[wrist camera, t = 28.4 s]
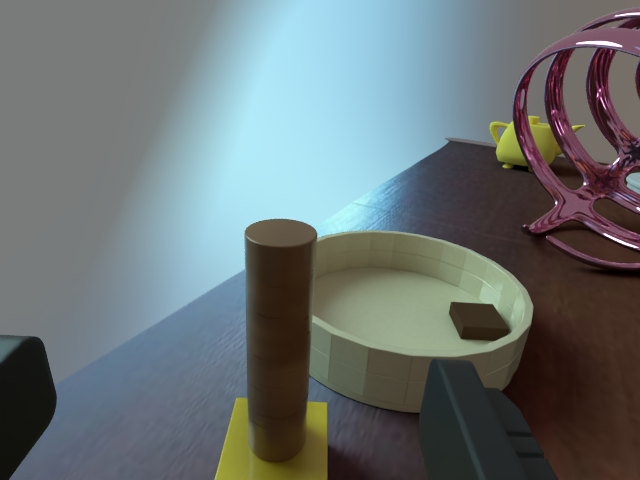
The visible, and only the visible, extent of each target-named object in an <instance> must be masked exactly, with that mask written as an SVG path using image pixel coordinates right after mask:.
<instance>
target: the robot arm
mask: <svg viewBox="0 0 640 480" xmlns="http://www.w3.org/2000/svg"><path fill="white" fill-rule="evenodd" d="M56 401H57V396H56V391H55V387H54V383H53V379H52V375H51V371H50V367H49V363H48V359H47V355H46V351H45V347H44V344H43V342H42V341H41V339H40V338H38V337H31V336H12V335H11V336H10V335H0V480H9V478H10V477H11V476H12V474H13V473H14V472H15V470H16V469H17V468H18V466H19V465H20V464H21V462H22V461H23V459H24V458H25V457H26V455H27V454H28V453H29V451H30V450H31V449H32V447H33V446H34V445H35V443H36V442H37V441H38V439H39V438H40V436H41V435H42V434H43V432H44V431H45V430H46V428H47V427H48V425H49V424H50V422H51V420H52V418H53V415H54V412H55V408H56ZM419 438H420V445H421V449H422V453H423V457H424V461H425V465H426V469H427V473H428V478H429V480H558V479H557V477H556V475H555V473H554V471H553V470H552V468H551V466H550V464H549V462H548V460H547V459H544V453H543V451H542V449H541V448H540V446H539V444H538V442H537V440H536V438H533V436H532V431H531V429H530V428H529V426H528V424H527V422H526V420H525V418H524V417H523V415H522V413H521V411H520V409H519V408H518V407H517V406H516V405H515V404H514V403H513V402H512V401H511V400H510V399H509V398H508V397H506V396H505V395H504V394H503V393H502V392H501V391H500V390H499V389H498V388H485V387H484V385H483V383H482V381H481V379H480V377H479V375H478V373H477V371H476V369H475V367H474V365H473V363H472V362H471V361H467V360H448V359H433V360H432V361H431V363H430V365H429V370H428V375H427V380H426V384H425V389H424V394H423V399H422V404H421V409H420V414H419Z"/></svg>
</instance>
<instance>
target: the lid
mask: <svg viewBox="0 0 640 480" xmlns="http://www.w3.org/2000/svg"><path fill="white" fill-rule="evenodd" d="M626 180H627V182H628V184H627V187H628V188H630V189H631V190H633V191H635V192H637V193H639V194H640V173H633V174H630V175H629V176H628V177H627V179H626Z"/></svg>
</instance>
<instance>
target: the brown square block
mask: <svg viewBox="0 0 640 480" xmlns="http://www.w3.org/2000/svg"><path fill="white" fill-rule="evenodd" d="M449 315H450V317H451V319H452V321H453V324H454V326H455V328H456V330H457V332H458V334H459V336H460V338H461V339H473V340H490V341H496V340H498V339H500V338H503V337H505V336H507V335H508V333H509V328H508V326H507V325H506V323H505V322H504V320H503V319H502V317H501V316H500V314H499V312H498V311H497V309H496V308H495V306H494V305H493V304H483V303H465V302H451V304H450V309H449Z"/></svg>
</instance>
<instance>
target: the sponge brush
mask: <svg viewBox="0 0 640 480" xmlns="http://www.w3.org/2000/svg"><path fill="white" fill-rule="evenodd" d="M316 249H317V232H316V230H315V229H314V228H313V227H312V226H310V225H308V224H306V223H303V222H300V221H296V220H289V219H270V220H264V221H259V222H256V223H253V224H251V225H250V226H249V227H247V228H246V230H245V286H246V343H247V398H236V401H235V405H234V409H233V412H232V416H231V420H230V424H229V427H228V431H227V435H226V439H225V442H224V446H223V450H222V454H221V457H220V461H219V465H218V469H217V472H216V476H215V480H328V403H324V402H308V387H309V370H310V353H311V335H312V318H313V301H314V283H315V266H316Z"/></svg>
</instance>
